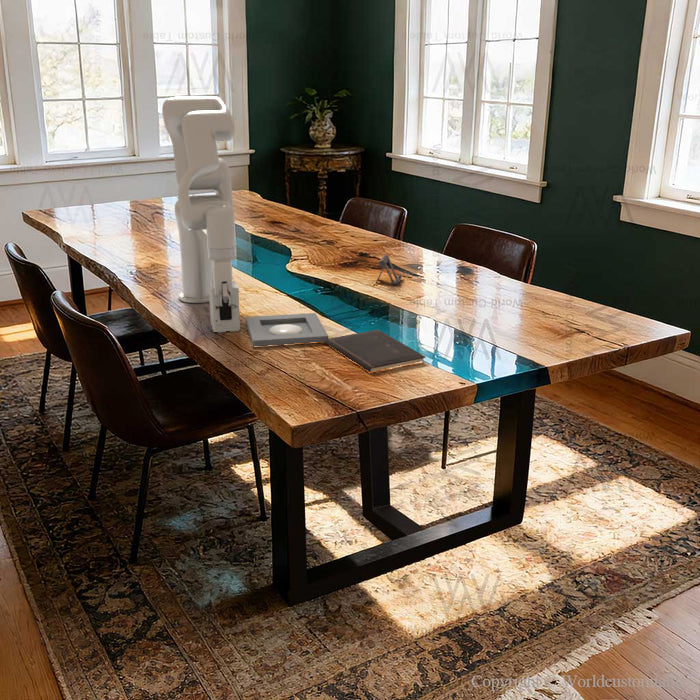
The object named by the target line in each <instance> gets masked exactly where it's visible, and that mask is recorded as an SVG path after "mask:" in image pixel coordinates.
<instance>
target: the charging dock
mask: <svg viewBox="0 0 700 700" xmlns="http://www.w3.org/2000/svg"><path fill="white" fill-rule="evenodd" d="M246 325H247V326H246ZM245 326H246V329H247V328H248V329H247V331H248V335H250V336H249V339H250V338H251V339H250V342H252V343H251V345H253V346H252V348H253V347H254V346H268V345H284V344H294V343H310V342H326V341H327V339H329V335H328V332H327V331H326V329H325V327H324V326H323V324H322V322H321V320H320V318H319V317H318V315H317V313H316V312H314V313H313V312H311V313H294V314H291V313H290V314H277V315H276V314H275V315H258V316H245Z"/></svg>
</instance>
